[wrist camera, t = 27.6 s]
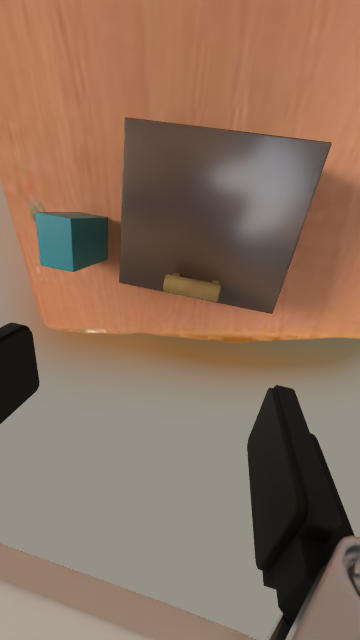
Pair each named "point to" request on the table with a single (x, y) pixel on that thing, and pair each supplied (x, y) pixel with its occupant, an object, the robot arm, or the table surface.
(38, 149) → the table surface
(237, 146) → the lid
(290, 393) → the robot arm
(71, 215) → the block
